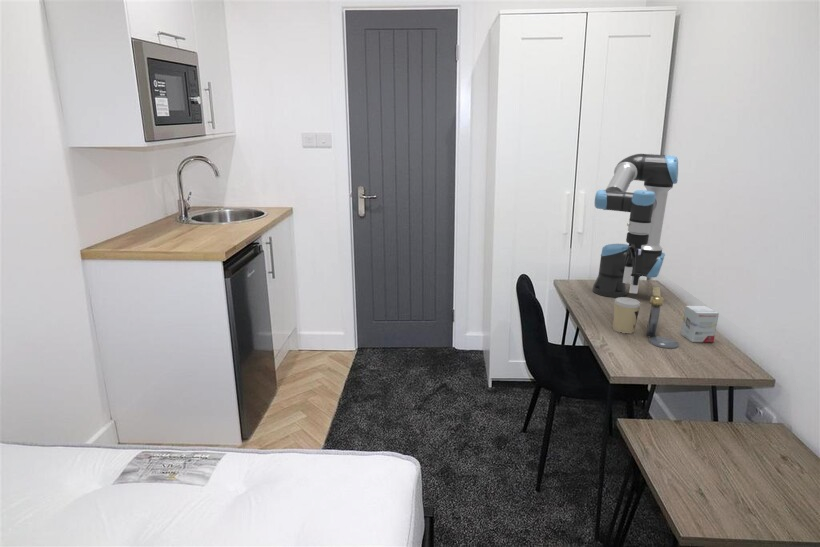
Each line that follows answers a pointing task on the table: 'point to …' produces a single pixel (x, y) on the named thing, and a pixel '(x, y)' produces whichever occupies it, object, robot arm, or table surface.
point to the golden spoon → (656, 297)
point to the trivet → (663, 342)
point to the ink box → (699, 324)
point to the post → (653, 320)
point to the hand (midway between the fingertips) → (629, 287)
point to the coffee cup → (625, 314)
